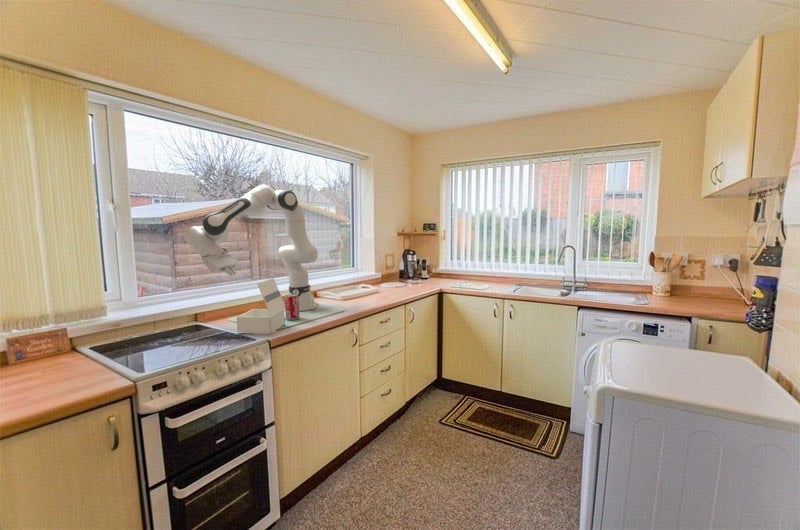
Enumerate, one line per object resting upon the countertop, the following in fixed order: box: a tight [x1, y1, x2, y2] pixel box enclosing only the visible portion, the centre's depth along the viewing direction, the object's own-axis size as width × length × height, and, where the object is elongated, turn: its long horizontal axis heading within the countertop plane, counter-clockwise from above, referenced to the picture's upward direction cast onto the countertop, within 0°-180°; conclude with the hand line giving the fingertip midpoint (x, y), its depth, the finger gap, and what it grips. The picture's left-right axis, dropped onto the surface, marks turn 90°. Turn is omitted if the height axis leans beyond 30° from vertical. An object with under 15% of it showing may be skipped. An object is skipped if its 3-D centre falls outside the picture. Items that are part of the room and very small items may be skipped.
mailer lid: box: [256, 278, 286, 316], centre depth 166 cm, size 16×16×1 cm
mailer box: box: [236, 308, 285, 335], centre depth 168 cm, size 16×16×8 cm
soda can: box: [284, 293, 300, 321], centre depth 186 cm, size 7×7×13 cm
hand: (233, 274), depth 167 cm, fingers closed
